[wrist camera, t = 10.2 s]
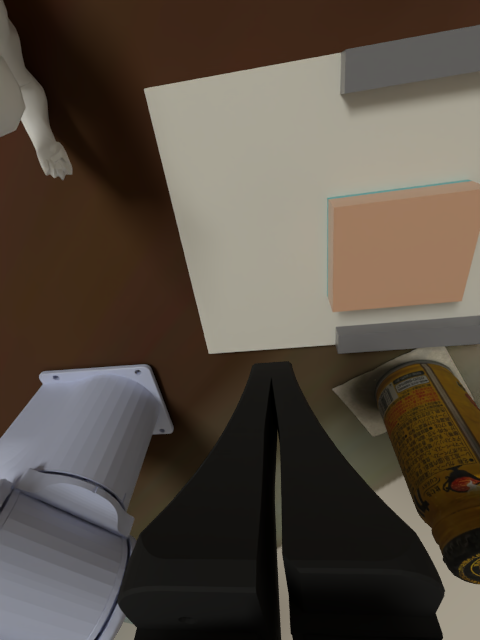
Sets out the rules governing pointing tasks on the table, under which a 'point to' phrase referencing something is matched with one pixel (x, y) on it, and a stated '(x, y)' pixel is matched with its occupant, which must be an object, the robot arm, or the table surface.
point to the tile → (401, 245)
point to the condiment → (429, 444)
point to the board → (315, 185)
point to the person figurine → (26, 102)
